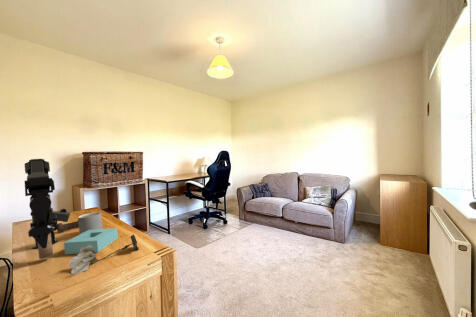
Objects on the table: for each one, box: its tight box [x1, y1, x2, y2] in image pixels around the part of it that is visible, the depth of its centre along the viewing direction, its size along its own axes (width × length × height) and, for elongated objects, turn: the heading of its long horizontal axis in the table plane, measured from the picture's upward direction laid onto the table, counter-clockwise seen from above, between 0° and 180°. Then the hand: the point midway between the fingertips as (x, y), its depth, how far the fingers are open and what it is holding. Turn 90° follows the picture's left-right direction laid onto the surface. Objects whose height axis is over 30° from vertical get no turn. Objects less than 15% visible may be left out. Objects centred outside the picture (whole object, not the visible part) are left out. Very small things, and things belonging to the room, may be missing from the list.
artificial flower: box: [68, 234, 140, 275], centre depth 78 cm, size 9×22×10 cm, turn 130°
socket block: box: [63, 227, 119, 255], centre depth 92 cm, size 14×14×5 cm
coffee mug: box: [77, 211, 103, 235], centre depth 109 cm, size 13×10×10 cm
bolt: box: [56, 220, 79, 234], centre depth 119 cm, size 6×5×15 cm
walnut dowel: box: [37, 233, 54, 260], centre depth 81 cm, size 4×4×10 cm
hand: (45, 246), depth 81 cm, fingers closed on walnut dowel, 4 cm apart
